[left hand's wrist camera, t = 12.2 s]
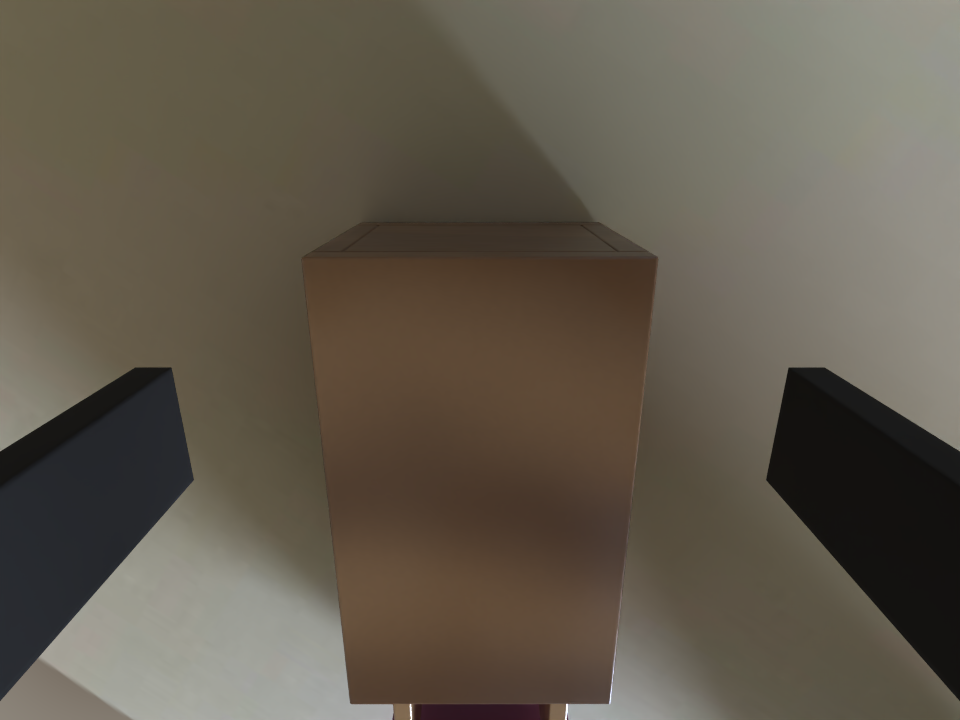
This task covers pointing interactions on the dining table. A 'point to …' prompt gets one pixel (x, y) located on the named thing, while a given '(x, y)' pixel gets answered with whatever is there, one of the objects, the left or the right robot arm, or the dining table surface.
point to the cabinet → (480, 453)
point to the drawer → (480, 712)
